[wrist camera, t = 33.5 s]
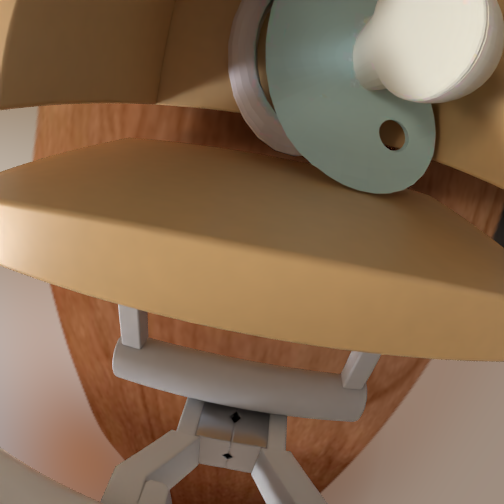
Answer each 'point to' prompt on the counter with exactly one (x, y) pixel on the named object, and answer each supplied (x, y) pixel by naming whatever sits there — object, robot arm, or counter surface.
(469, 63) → the pacifier
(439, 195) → the counter surface
